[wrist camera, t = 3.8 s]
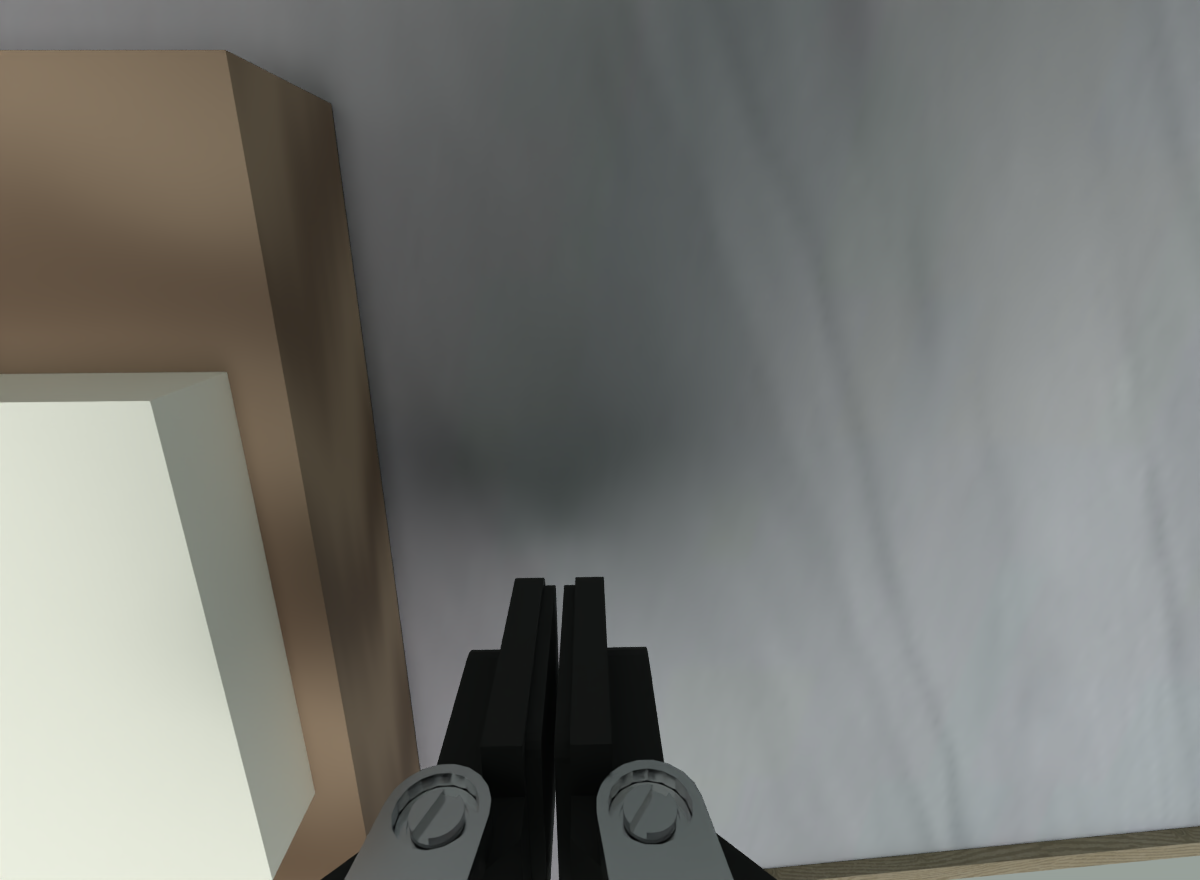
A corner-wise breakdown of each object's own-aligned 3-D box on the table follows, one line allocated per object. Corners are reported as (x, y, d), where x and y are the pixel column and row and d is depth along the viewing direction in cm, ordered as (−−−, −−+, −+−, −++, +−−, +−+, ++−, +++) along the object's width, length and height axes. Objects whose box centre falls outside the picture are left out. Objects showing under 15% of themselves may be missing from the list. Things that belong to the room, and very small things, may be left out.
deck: (-141, 105, 13) (-445, 51, 9) (331, 103, 13) (225, 50, 9) (110, 807, 19) (-6, 947, 16) (424, 800, 19) (384, 937, 16)
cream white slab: (-171, 375, 11) (-334, 405, 9) (227, 372, 11) (150, 400, 9) (10, 799, 14) (-81, 888, 12) (315, 793, 14) (272, 880, 12)
